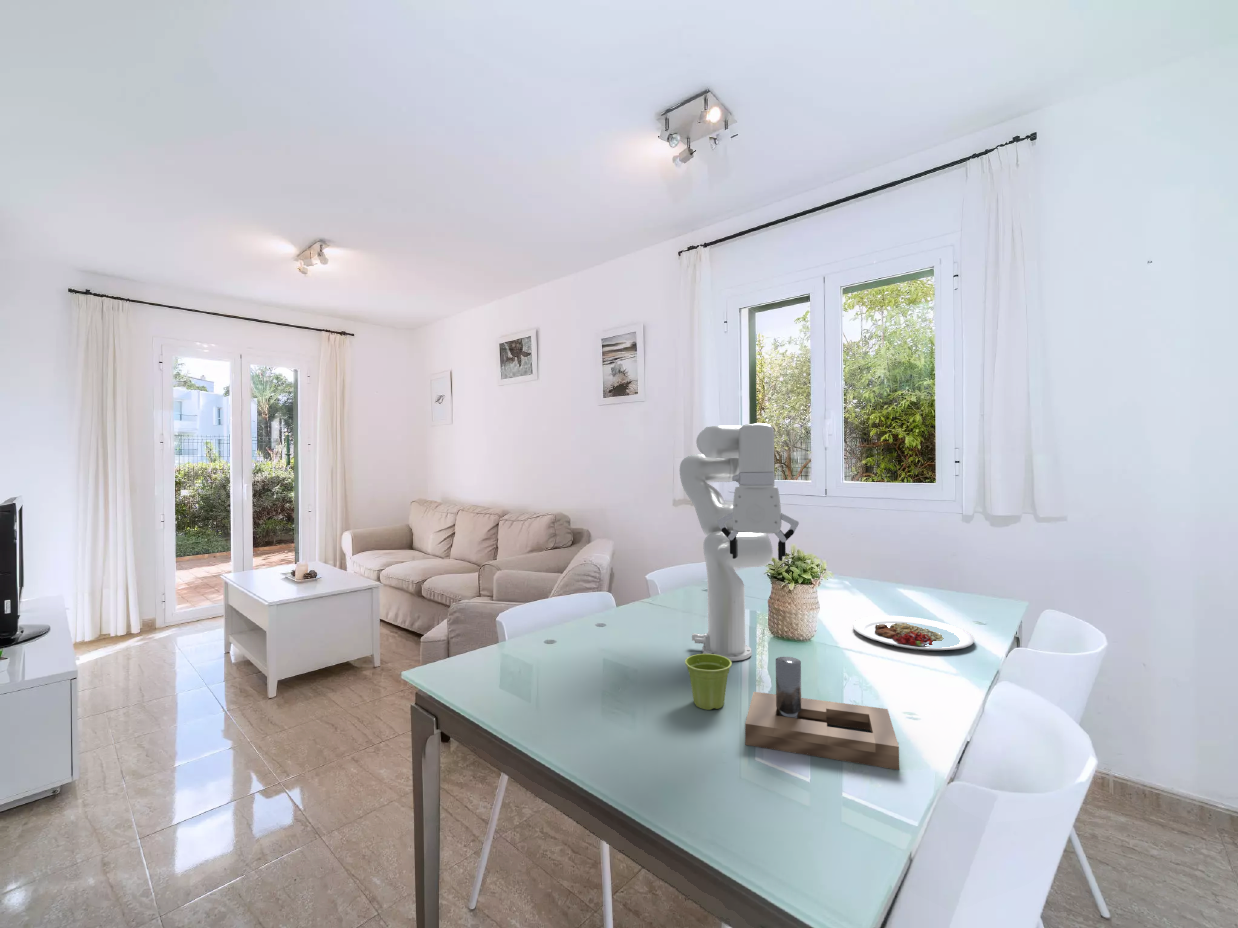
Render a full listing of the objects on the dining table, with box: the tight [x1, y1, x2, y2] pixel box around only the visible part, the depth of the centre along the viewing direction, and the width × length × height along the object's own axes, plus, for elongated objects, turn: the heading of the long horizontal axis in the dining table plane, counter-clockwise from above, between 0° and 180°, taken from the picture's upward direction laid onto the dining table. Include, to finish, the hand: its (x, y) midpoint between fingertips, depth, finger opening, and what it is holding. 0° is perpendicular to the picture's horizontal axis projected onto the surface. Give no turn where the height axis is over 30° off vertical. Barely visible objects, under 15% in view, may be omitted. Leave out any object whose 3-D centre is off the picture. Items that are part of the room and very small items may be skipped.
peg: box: [775, 656, 802, 719], centre depth 98 cm, size 6×6×13 cm
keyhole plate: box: [744, 691, 900, 771], centre depth 96 cm, size 24×14×4 cm, turn 70°
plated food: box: [852, 615, 975, 651], centre depth 151 cm, size 30×30×3 cm
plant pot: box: [684, 653, 733, 711], centre depth 110 cm, size 9×9×9 cm
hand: (757, 558), depth 117 cm, fingers open, 9 cm apart
